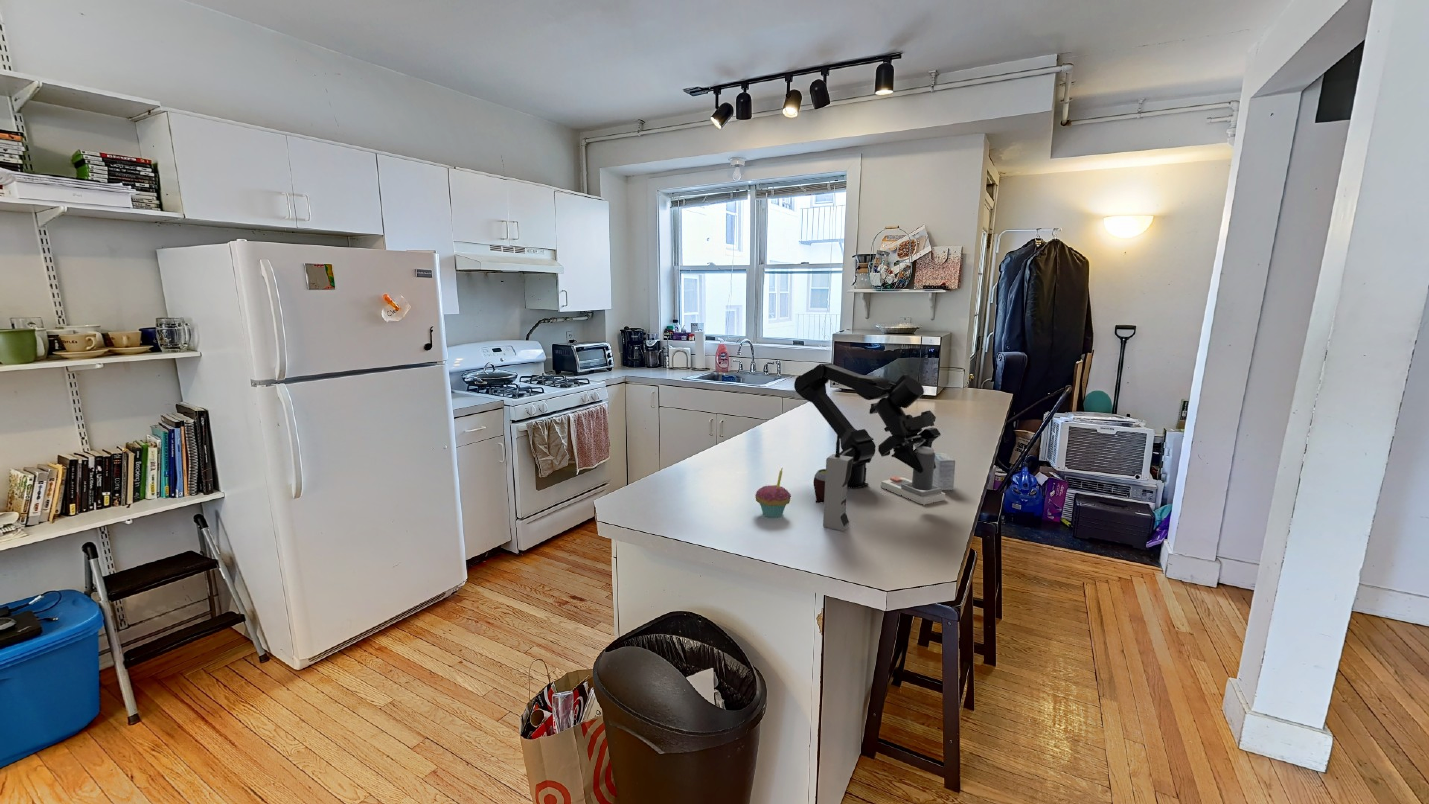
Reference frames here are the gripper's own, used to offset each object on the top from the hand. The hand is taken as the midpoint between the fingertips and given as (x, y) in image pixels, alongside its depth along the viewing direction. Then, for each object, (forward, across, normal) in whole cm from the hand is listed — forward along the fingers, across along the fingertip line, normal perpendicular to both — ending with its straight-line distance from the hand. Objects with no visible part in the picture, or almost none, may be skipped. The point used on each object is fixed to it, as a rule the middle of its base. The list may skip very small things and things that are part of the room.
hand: (928, 470), depth 141 cm
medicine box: (+1, +20, +14) cm, 24 cm away
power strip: (+1, +8, +14) cm, 16 cm away
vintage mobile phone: (+4, -27, +11) cm, 29 cm away
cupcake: (-6, -34, +21) cm, 40 cm away
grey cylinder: (+2, 0, +4) cm, 5 cm away
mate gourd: (-5, -16, +20) cm, 26 cm away
